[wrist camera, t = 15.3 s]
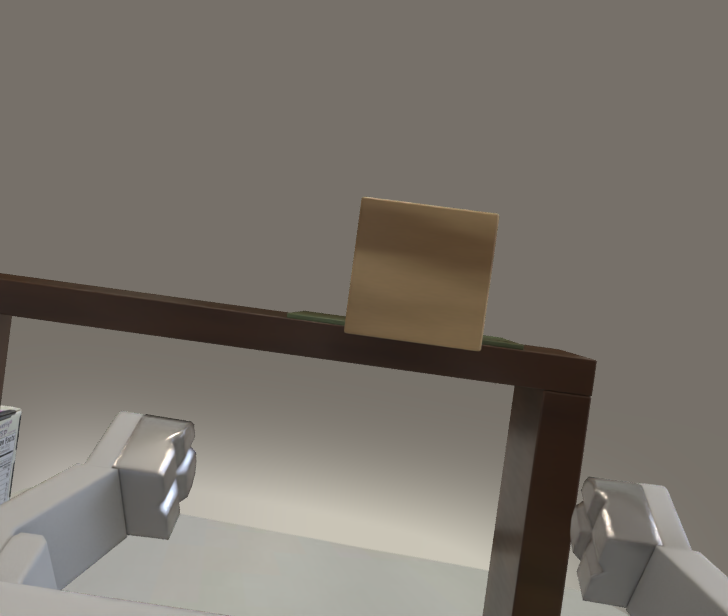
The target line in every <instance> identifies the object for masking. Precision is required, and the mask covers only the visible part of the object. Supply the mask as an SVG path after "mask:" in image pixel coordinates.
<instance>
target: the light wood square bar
mask: <svg viewBox="0 0 728 616" xmlns="http://www.w3.org/2000/svg"><path fill="white" fill-rule="evenodd" d="M498 222H499V215H498V214H495V213H487V212H479V211H471V210H464V209H455V208H448V207H441V206H433V205H425V204H417V203H410V202H401V201H394V200H386V199H379V198H371V197H363V198H362V200H361V208H360V216H359V223H358V230H357V238H356V245H355V252H354V260H353V267H352V275H351V283H350V289H349V297H348V305H347V312H346V319H345V327H344V332H345V333H348V334H356V335H363V336H370V337H377V338H385V339H392V340H399V341H407V342H414V343H421V344H428V345H436V346H443V347H450V348H457V349H465V350H472V351H480V350H481V345H482V338H483V330H484V324H485V316H486V309H487V302H488V295H489V288H490V280H491V273H492V266H493V258H494V251H495V244H496V236H497V230H498Z"/></svg>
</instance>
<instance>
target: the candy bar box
mask: <svg viewBox="0 0 728 616" xmlns="http://www.w3.org/2000/svg"><path fill="white" fill-rule="evenodd" d="M21 412H22V411H21V409H20V408H16V407H10V406H3V405H1V406H0V505H1V504H3V503H4V502H6V501H8V500H10V494H11V486H12V479H13V471H14V464H15V457H16V450H17V442H18V437H19V427H20V420H21Z"/></svg>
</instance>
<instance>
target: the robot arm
mask: <svg viewBox="0 0 728 616" xmlns="http://www.w3.org/2000/svg"><path fill="white" fill-rule="evenodd" d="M194 437H195V430H194V424H193V423H192V422H190V421H184V420H178V419H172V418H166V417H160V416H154V415H148V414H146V415H143V414H138V413H132V412H126V411H122V412H120V413H119V414H117V415H116V417H115V418H114V420H113V421H112V423H111V424H110V426H109V427H108V429H107V430H106V432H105V433H104V435H103V436H102V438H101V439H100V441H99V443H98V444H97V445H96V447H95V448H94V450H93V452H92V453H91V455H90V456H89V458H88V459H87V461H86V462H85V464H79V463H77V464H75V465H73V466H72V467H70V468H68V469H66V470H64V471H62V472H60V473H58V474H57V475H55V476H53V477H51V478H49V479H47V480H45V481H44V482H42V483H40V484H38V485H36V486H34V487H32V488H30V489H29V490H27V491H25V492H23V493H21V494H19V495H17V496H16V497H14V498H12V499H10V500H8V501H6V502H4V503H3V504H1V505H0V616H230V615H223V614H217V613H210V612H203V611H197V610H190V609H183V608H177V607H170V606H163V605H157V604H150V603H143V602H137V601H130V600H123V599H117V598H110V597H103V596H97V595H90V594H83V593H77V592H70V591H63V590H62V589H63V588H64V587H66V586H67V585H68V584H69V583H71V582H72V581H73V580H74V579H75V578H77V577H78V576H79V575H80V574H82V573H83V572H84V571H85V570H87V569H88V568H89V567H90V566H92V565H93V564H94V563H95V562H97V561H98V560H99V559H100V558H102V557H103V556H104V555H105V554H107V553H108V552H109V551H110V550H112V549H113V548H114V547H115V546H117V545H118V544H119V543H120V542H122V541H123V540H124V539H125V538H127V535H133V536H141V537H150V538H158V539H167V540H169V537H170V535H171V533H172V531H173V528H174V526H175V524H176V522H177V519H178V517H179V515H180V507H179V502H181V501H182V500H184V499H185V498H187V497H188V494H189V492H190V489H191V487H192V484H193V480H194V476H195V470H196V452H195V451H194V450H193V448H192V447H191V444H192V442H193V440H194ZM581 492H582V496H583V501H582V502H581V503H579V504H578V505H576V506H575V509H574V512H573V515H572V519H571V528H570V537H571V545H572V550H573V553H574V554H575V555H576V556H577V558H579V560H580V564H579V567H578V569H577V575H578V580H579V584H580V589H581V594H582V598H583V600H584V601H590V602H595V603H601V604H607V605H613V606H619V607H624V608H626V611H627V612H628V613H629V615H630V616H728V577H727V576H726V575H725V574H724V573H723V572H721V571H720V570H719V569H718V568H717V567H716V566H715V565H714V564H712V563H711V562H710V561H709V560H708V559H707V558H706V557H705V556H704V555H702V554H701V553H700V552H697V551H692V550H691V547H690V544H689V542H688V539H687V537H686V534H685V532H684V529H683V527H682V525H681V522H680V520H679V517H678V515H677V512H676V510H675V507H674V505H673V502H672V500H671V498H670V495H669V492H668V490H667V489H666V488H665V487H664V486H659V485H651V484H643V483H633V482H625V481H617V480H610V479H603V478H595V477H588V478H587V479H586V480H585V482H584V484H583V487H582V489H581Z"/></svg>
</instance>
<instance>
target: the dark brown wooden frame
mask: <svg viewBox="0 0 728 616" xmlns="http://www.w3.org/2000/svg"><path fill="white" fill-rule="evenodd" d="M12 316H17V317H24V318H31V319H38V320H46V321H53V322H60V323H67V324H75V325H81V326H89V327H96V328H103V329H110V330H117V331H125V332H133V333H139V334H146V335H154V336H161V337H168V338H175V339H182V340H189V341H197V342H204V343H211V344H218V345H226V346H233V347H240V348H247V349H255V350H261V351H269V352H276V353H284V354H290V355H298V356H305V357H312V358H319V359H326V360H334V361H341V362H348V363H356V364H363V365H369V366H377V367H384V368H391V369H398V370H405V371H413V372H420V373H427V374H435V375H441V376H449V377H456V378H463V379H471V380H477V381H485V382H492V383H499V384H507V385H514V386H515V388H514V395H513V402H512V409H511V416H510V423H509V430H508V437H507V445H506V452H505V460H504V467H503V474H502V481H501V488H500V495H499V502H498V509H497V517H496V524H495V531H494V538H493V545H492V552H491V560H490V567H489V574H488V581H487V588H486V595H485V603H484V610H483V616H560V615H561V608H562V601H563V594H564V587H565V579H566V572H567V565H568V558H569V551H570V544H571V537H570V528H571V519H572V515H573V512H574V509H575V506H576V502H577V495H578V487H579V480H580V473H581V466H582V459H583V452H584V445H585V437H586V431H587V424H588V417H589V409H590V403H591V397H590V396H592V391H593V383H594V377H595V370H596V363H597V361H596V360H593V359H590V358H586V357H583V356H579V355H576V354H573V353H569V352H566V351H562V350H559V349H551V348H544V347H536V346H529V345H522V344H518V343H515V342H512V341H509V340H506V339H503V338H499V337H492V336H484V335H483V338H482V345H481V350H480V351H472V350H465V349H457V348H450V347H443V346H436V345H428V344H421V343H414V342H407V341H399V340H392V339H385V338H377V337H370V336H363V335H356V334H348V333H345V332H344V327H345V319H346V317H345V316H338V315H330V314H323V313H316V312H309V311H300V312H293V313H288V312H281V311H272V310H266V309H258V308H251V307H244V306H237V305H229V304H221V303H215V302H207V301H200V300H192V299H185V298H178V297H170V296H163V295H156V294H148V293H141V292H134V291H127V290H119V289H112V288H105V287H97V286H90V285H82V284H76V283H68V282H61V281H54V280H46V279H39V278H32V277H24V276H16V275H10V274H2V273H0V406H1V398H2V390H3V382H4V374H5V367H6V359H7V351H8V342H9V335H10V327H11V319H12Z"/></svg>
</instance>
